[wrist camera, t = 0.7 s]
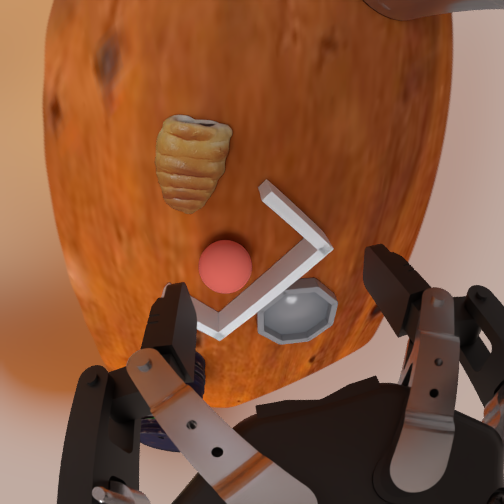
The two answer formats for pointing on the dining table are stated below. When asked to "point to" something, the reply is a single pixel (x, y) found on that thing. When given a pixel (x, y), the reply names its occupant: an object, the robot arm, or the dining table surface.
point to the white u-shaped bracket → (274, 278)
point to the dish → (298, 312)
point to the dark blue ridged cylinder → (152, 429)
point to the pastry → (190, 160)
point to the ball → (225, 266)
